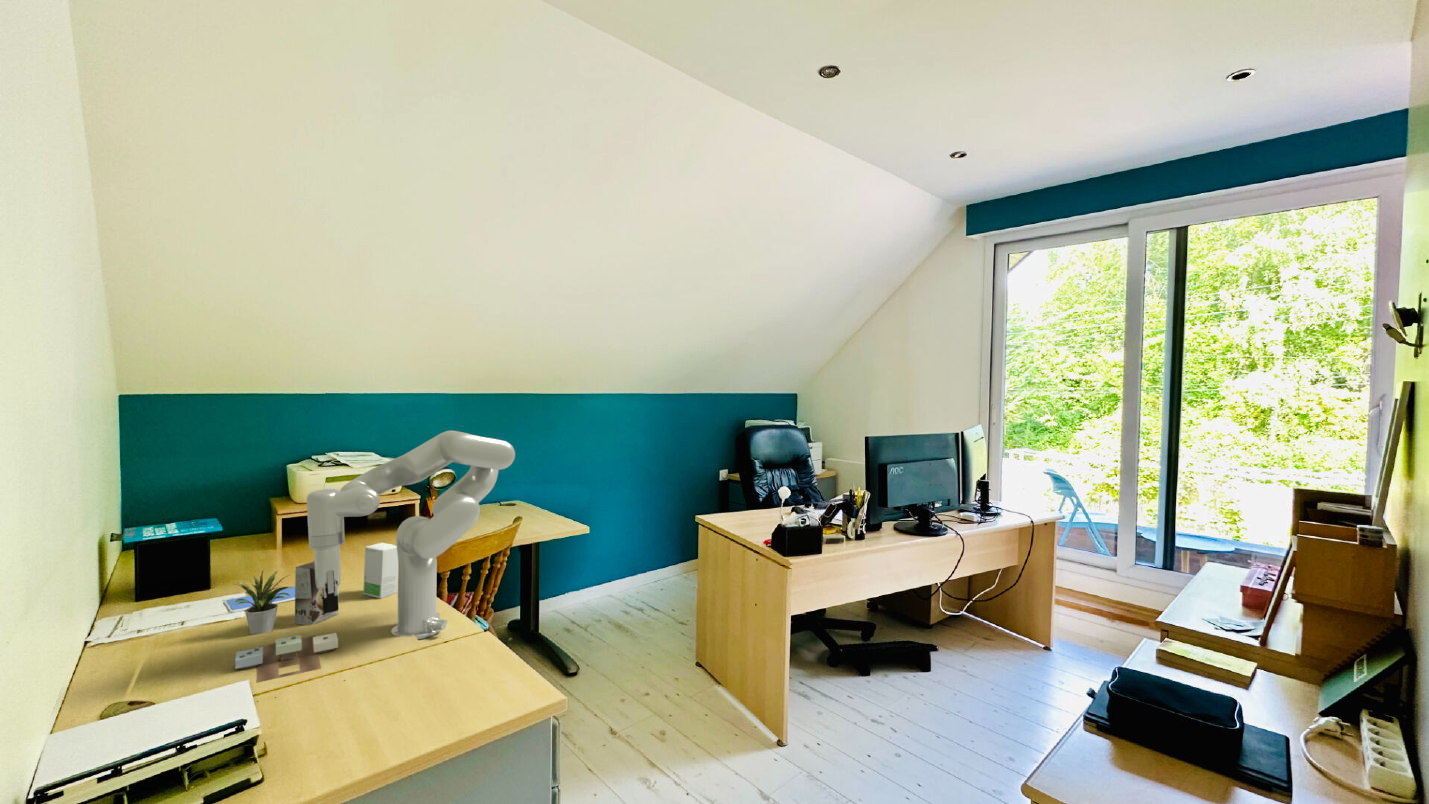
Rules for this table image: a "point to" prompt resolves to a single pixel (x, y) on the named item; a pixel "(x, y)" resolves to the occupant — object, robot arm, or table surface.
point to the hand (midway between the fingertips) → (330, 611)
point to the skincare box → (380, 570)
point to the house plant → (262, 605)
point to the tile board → (271, 665)
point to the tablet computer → (243, 606)
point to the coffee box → (309, 597)
